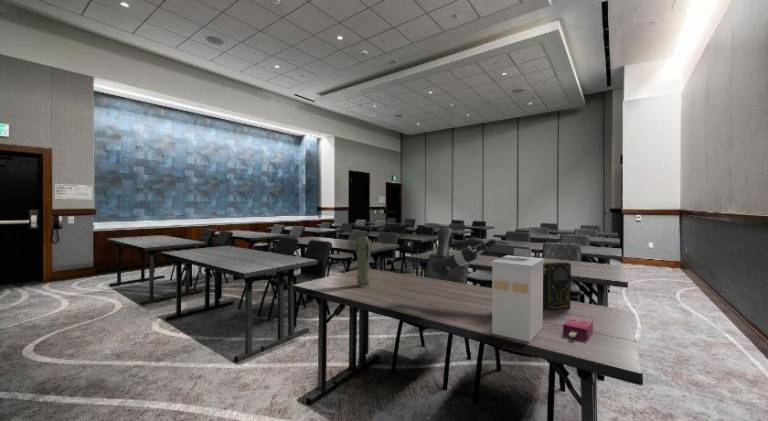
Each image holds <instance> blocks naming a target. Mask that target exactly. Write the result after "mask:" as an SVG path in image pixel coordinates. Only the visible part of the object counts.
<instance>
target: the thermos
mask: <svg viewBox="0 0 768 421" xmlns="http://www.w3.org/2000/svg"><path fill="white" fill-rule="evenodd" d="M369 242H370V240H369V237H368V236H367V235H361V236H358V240H357V243H356V258H357V259H356V262H357V276H356V282H357V285H358V286H364V287H363V288H366V287H365V286H369V285H370V282H371V281H370V280H371V276H370V258H371V244H370V243H369ZM358 286H357V287H358ZM369 287H370V286H369Z"/></svg>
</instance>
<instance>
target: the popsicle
mask: <svg viewBox="0 0 768 421" xmlns="http://www.w3.org/2000/svg"><path fill="white" fill-rule="evenodd" d="M593 331H594V320H591V319H587V318H582V317H578V316H577V317H576V316H570V317H569V318H568V319H567V320H566V321H565V322H564V323H563V325H562V335H563V336H568V337H571V338H576V339H581V340H584V341H588V339H589V337H590V336H591V335H592V333H593Z"/></svg>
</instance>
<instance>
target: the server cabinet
mask: <svg viewBox="0 0 768 421" xmlns="http://www.w3.org/2000/svg"><path fill="white" fill-rule="evenodd" d="M545 261H546V260H545V258H540V257H530V256H528V257H526V256H524V257H521V256H510V255H507V256H504V257H502V258H499V257H498V258H496V259H494V260H492V261H490V267H492V270H491V271H492V272H491V273H492V274H491V275H492V276H491V277H492V278H491V281H492V284H491V287H492V288H491V295H492V296H491V305H492V308H491V313H492V314H491V334H493V335H498V336H503V337H507V338H511V339H515V340H520V341H524V342H528V343H531V342H532V341H533V340H534V338H535V337H536V336H537V334H538V333H539V332H540V331H541V330H542V328H543V325H544V324H543V323H544V322H543V319H544V318H543V317H544V312H543V311H544V310H543V309H544V307H543V263H546V262H545Z"/></svg>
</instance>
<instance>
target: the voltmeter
mask: <svg viewBox="0 0 768 421" xmlns="http://www.w3.org/2000/svg"><path fill="white" fill-rule="evenodd" d="M571 268H572V264H571V263H569V262H566V261H555V262H545V263H543V309H546V310H548V311H552V310H562V309H563V310H564V309H570V308H571V300H572V299H571V294H572V293H571V290H572V289H571V288H572V287H571V284H572V283H571V282H572V279H571V278H572V276H571V275H572V274H571V273H572V272H571V271H572V269H571Z"/></svg>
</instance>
